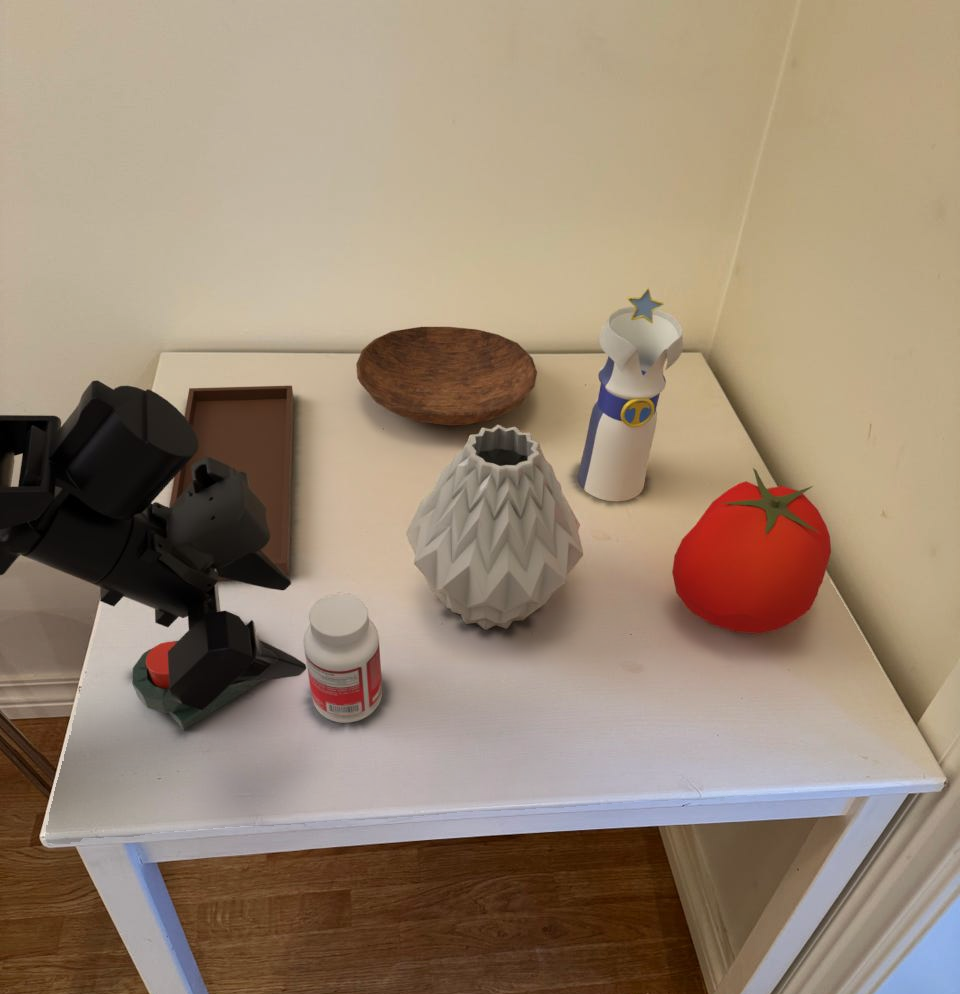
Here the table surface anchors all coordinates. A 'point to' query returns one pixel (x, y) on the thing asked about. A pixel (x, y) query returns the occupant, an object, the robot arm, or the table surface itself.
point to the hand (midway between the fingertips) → (295, 626)
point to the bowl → (446, 374)
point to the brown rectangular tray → (248, 450)
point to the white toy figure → (628, 398)
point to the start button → (159, 664)
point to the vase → (496, 530)
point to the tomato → (753, 559)
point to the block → (179, 712)
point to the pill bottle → (343, 658)
